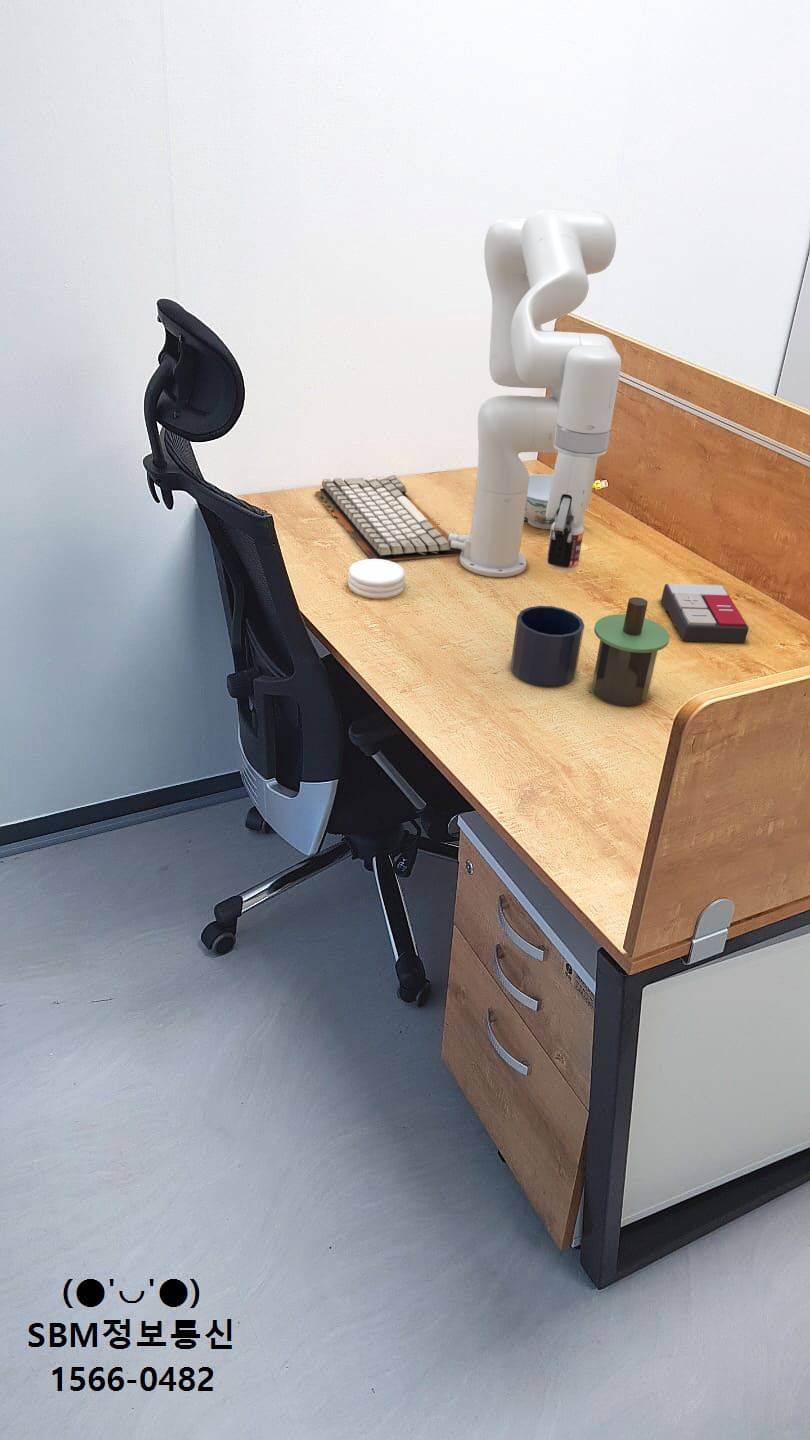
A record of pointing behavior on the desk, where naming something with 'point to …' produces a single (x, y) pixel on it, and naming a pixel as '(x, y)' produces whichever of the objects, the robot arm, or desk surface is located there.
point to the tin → (546, 646)
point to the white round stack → (376, 578)
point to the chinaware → (538, 501)
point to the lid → (632, 630)
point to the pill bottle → (575, 550)
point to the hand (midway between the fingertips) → (562, 556)
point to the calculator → (704, 613)
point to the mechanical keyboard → (384, 519)
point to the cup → (622, 676)
